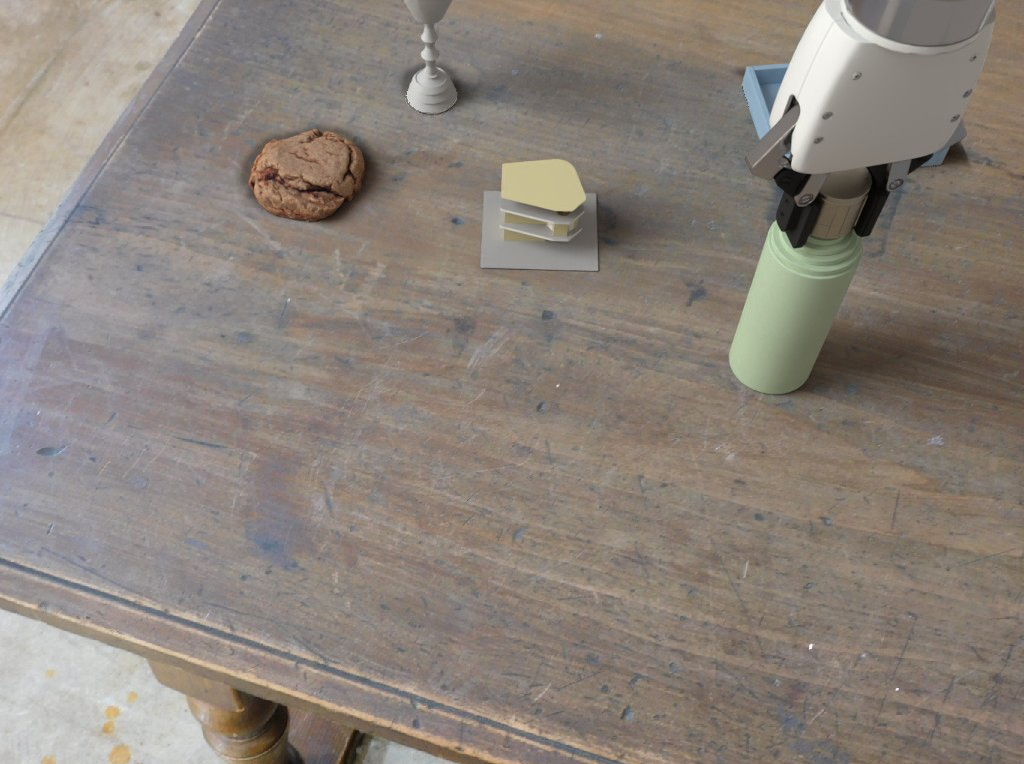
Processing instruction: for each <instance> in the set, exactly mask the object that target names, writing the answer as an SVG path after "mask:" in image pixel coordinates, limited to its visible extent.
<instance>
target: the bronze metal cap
mask: <svg viewBox="0 0 1024 764" xmlns="http://www.w3.org/2000/svg"><path fill="white" fill-rule="evenodd" d="M871 185H872V177H871V174H870V172H869V171H868V169H867V168H866V167H862V168H855V169H849V170H843V171H836V172H831V173H830V175H829V177H828V178H827V180H826V182H825V183H824V185H823V187H822V188H821V190H820V191H819V193H818V195H817V196H816V199H817V201H818V203H819V211H818V214H817V216H816V219H815V221H814V224H813V226H812V229H811V231H810V234H811V235H813V236H815V237H819V238H823V239H835V238H840V237H843V236H845V235H846V234H848V233H849V232H850V231H851V230H852V229H853V227H854V226H855V225H856V223H857V221H858V218H859V216H860V214H861V211H862V209H863V207H864V204H865V202H866V200H867V197H868V193H869V190H870V188H871Z"/></svg>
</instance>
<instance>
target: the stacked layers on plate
mask: <svg viewBox="0 0 1024 764" xmlns="http://www.w3.org/2000/svg"><path fill="white" fill-rule="evenodd" d="M500 187H501V188H500V190H483V197H482V198H483V199H482V201H483V202H482V218H481V219H482V221H481V241H480V242H481V243H480V261H479V263H480V264H479V266H480V267H479V268H481V269H511V270H512V269H513V270H515V269H516V270H547V271H548V270H549V271H584V272H599V248H598V247H599V246H598V212H597V211H598V210H597V193H595V192H593V193H592V192H585V189H584V188H583V185H582V183H581V181H580V177H579V175H578V172H577V170H576V168H575V166H574V165H573V164H572V163H570V162H568V161H567V160H564V159H558V158H550V159H540V160H539V159H538V160H528V161H516V162H505V163H501V184H500Z"/></svg>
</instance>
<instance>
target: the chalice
mask: <svg viewBox="0 0 1024 764" xmlns="http://www.w3.org/2000/svg"><path fill="white" fill-rule="evenodd" d="M403 2H404V4H405V5H406V7H407V8H408V10H409V12H410V13H411V15H412V17H413V18H414V20H415V21H416V22H418V23H419V24H422V25H423V26H424V28H423V33H421V35H420V39H421V40H422V42H423V43H424V49H423V50H421V52H420V57H421V58H422V59H423V60H424V62H425V67H423V68H421V69H419V70H418V71H417V72H416V73H414V75H413V77H412V79H411V82H410V83H409V85H408V89H407V90H408V91H407V90H406V92H407V95H406V94H405V96H407V99H408V103H409V102H410V105H411V106H412V107H414V108H415V109H416V110H419V111H421V112H431V113H433V112H440V111H443V110H444V109H448V108H449V106H450V107H451V106H452V105H453V103H454V102H455V100H456V97H457V93H458V91H457V92H456V90H457V88H456V87H455V85H454V82H453V81H452V79H451V77H450V75H449V73H447V71H445V70H444V69H443V68H441V67H437V66H436V61H437V59H439V57H440V54H441V53H440V51H439V49H437V48H436V46H435V45H436V42H437V41H438V39H439V34H438V32H436V28H435V24H437V23H439V22H440V21H442V20H443V18H444V17H445V15H446V13H447V10H449V7H450V6H451V3H452V2H453V0H403Z"/></svg>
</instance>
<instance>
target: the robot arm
mask: <svg viewBox="0 0 1024 764" xmlns="http://www.w3.org/2000/svg"><path fill="white" fill-rule="evenodd" d="M997 2H998V0H822V2H821V4H820V5H819V7H818V8H817V10H816V11H815V14H814V15H813V16H812V18H811V20H810V22H809V23H808V25H807V27H806V29H805V30H804V33H803V34H802V36H801V38H800V40H799V42H798V45H797V46H796V49H795V50H794V53H793V55H792V57H791V60H790V62H789V63H790V64H789V66H788V69H787V71H786V73H785V76H784V78H783V81H782V83H781V86H780V88H779V91H778V94H777V97H776V99H775V102H774V105H773V108H772V111H771V115H770V120H769V124H770V127H771V130H770V131H769V132H768V133H767V134H766V135H765V136H764V137H763V138H762V139H761V140H758V141H757V143H755V145H754V146H752V148H750V150H748V151H747V153H746V154H745V155H744V160H745V163H746V165H747V167H748V169H749V171H750V173H751V175H753V176H755V177H757V178H760V179H762V180H765V181H767V182H771V181H772V182H774V183H775V184H776V186H777V187H778V188H779V189H781V190H782V191H783V192H782V195H781V198H780V200H779V204H778V207H777V209H776V212H775V221H777V224H778V226H779V229H780V230H781V231H782V232H785V233H786V235H787V237H788V239H789V241H790V243H791V245H792V247H793V248H794V249H796V248H802V247H803V245H805V244H806V241H807V239H808V236H809V234H810V231H811V229H812V226H813V224H814V221H815V219H816V216H817V214H818V211H819V203H818V201H817V199H816V196H817V195H818V193H819V191H820V190H821V188H822V187H823V185H824V183H825V182H826V180H827V178H828V177H829V175H830V173H831V172H836V171H843V170H849V169H855V168H862V167H866V168H867V169H868V171H869V172H870V174H871V177H872V185H871V188H870V190H869V193H868V197H867V200H866V202H865V204H864V207H863V209H862V211H861V214H860V216H859V218H858V221H857V223H856V225H855V226H854V227H853V229H854V231H855V233H856V235H857V236H860V237H862V238H866V237H870V236H871V234H872V232H873V230H874V227H875V225H876V223H877V221H878V219H879V217H880V215H881V213H882V211H883V209H884V207H885V205H886V203H887V201H888V198H889V196H890V194H891V193H892V192H893V193H894V192H897V191H899V190H900V189H902V188H903V187H904V186H905V185H906V182H907V179H908V175H910V174H911V173H912V172H915V171H916V170H917V169H919V168H921V167H920V166H921V165H923V164H924V163H926V162H927V161H929V160H930V159H931V158H932V156H933V153H934V152H936V153H938V152H940V151H942V150H944V149H946V148H948V147H950V148H951V146H953V145H955V144H957V143H959V142H961V141H962V140H963V139H965V138H966V136H967V133H968V132H967V129H966V126H965V122H964V118H963V117H964V114H965V113H966V110H967V108H968V106H969V104H970V101H971V99H972V97H973V94H974V92H975V90H976V87H977V85H978V82H979V79H980V77H981V74H982V72H983V69H984V65H985V63H986V59H987V56H988V54H989V50H990V46H991V42H992V38H993V34H994V28H995V22H996V16H997V14H996V13H997V12H996V8H995V5H996V4H997ZM790 149H791V154H790V156H789V158H787V157H786V156H785V154H786V153H787V152H788V151H789V150H790Z"/></svg>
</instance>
